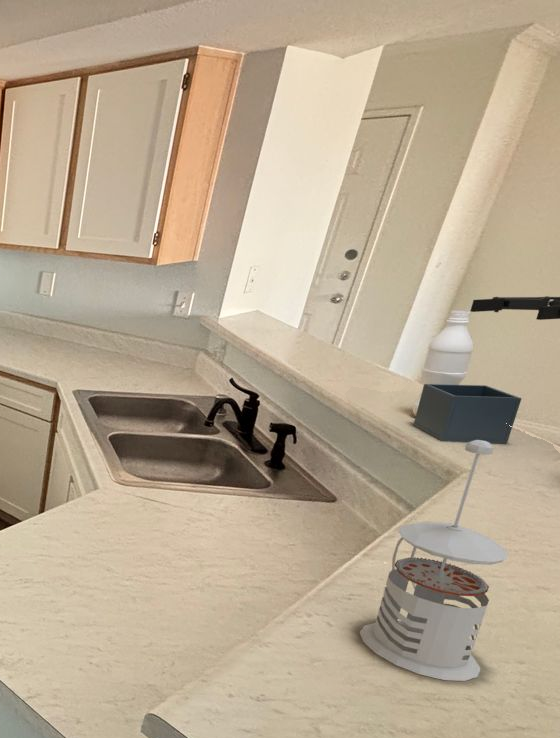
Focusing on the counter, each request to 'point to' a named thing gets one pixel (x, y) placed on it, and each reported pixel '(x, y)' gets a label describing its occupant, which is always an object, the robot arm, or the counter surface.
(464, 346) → the water bottle
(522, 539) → the counter surface
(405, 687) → the counter surface
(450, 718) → the counter surface
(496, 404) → the tub
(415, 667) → the french press
